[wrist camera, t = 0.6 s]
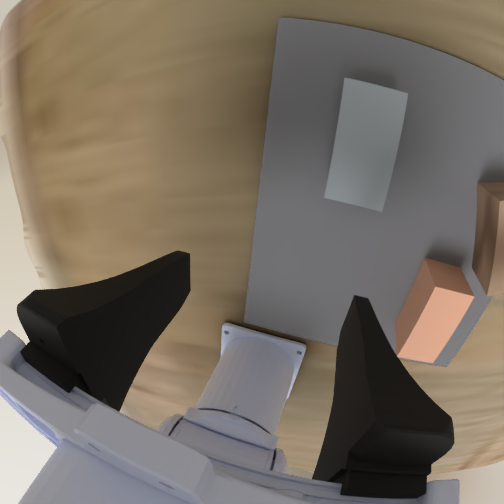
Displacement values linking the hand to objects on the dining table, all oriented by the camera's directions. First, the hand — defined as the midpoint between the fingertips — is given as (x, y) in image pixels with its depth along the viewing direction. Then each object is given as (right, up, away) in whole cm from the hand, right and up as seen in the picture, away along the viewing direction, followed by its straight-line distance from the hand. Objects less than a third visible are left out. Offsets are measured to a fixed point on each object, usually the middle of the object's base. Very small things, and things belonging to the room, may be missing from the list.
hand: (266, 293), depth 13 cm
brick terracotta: (+13, -2, +7) cm, 15 cm away
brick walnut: (+16, +4, +3) cm, 17 cm away
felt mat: (+9, +4, +6) cm, 12 cm away
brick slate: (+6, +9, +4) cm, 11 cm away
